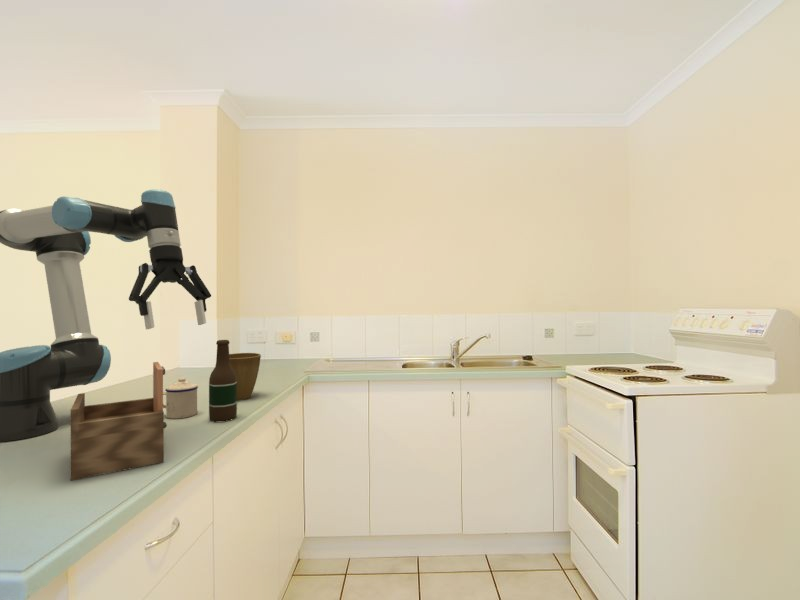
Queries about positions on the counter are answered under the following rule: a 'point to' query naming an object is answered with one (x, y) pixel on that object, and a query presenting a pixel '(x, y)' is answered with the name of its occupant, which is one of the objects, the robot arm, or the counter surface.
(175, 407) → the teacup with lid
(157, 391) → the orange rectangular slab
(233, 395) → the beer bottle
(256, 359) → the plant pot
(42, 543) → the counter surface
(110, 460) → the tray
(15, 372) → the robot arm
